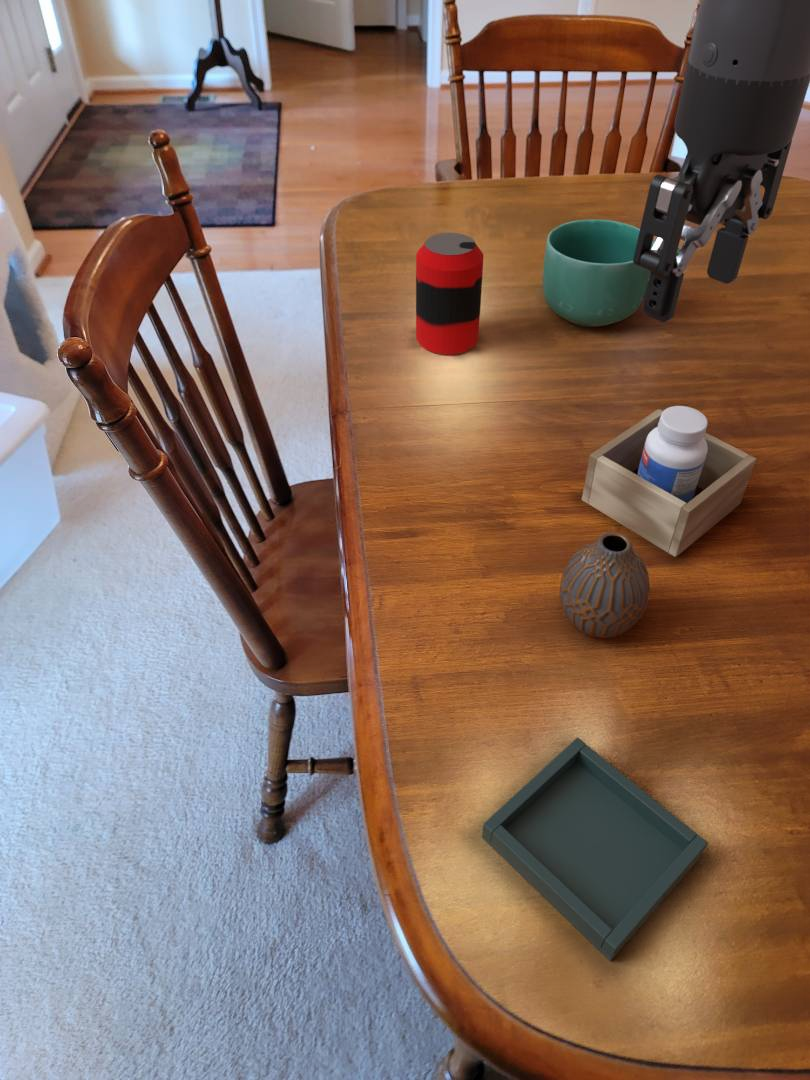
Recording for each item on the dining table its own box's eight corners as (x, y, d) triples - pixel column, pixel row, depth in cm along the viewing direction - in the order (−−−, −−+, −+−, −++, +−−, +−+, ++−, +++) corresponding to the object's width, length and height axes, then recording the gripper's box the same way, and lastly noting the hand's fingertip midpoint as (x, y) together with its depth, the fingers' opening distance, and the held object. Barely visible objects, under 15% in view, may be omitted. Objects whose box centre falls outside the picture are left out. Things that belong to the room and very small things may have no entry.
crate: (740, 503, 79) (757, 458, 75) (675, 557, 74) (689, 511, 70) (647, 453, 85) (658, 408, 81) (581, 500, 80) (589, 454, 76)
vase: (620, 664, 65) (641, 588, 59) (540, 628, 68) (553, 551, 62) (652, 609, 70) (675, 532, 63) (576, 576, 72) (591, 500, 66)
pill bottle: (620, 492, 80) (639, 408, 74) (666, 477, 82) (689, 394, 75) (654, 527, 77) (677, 442, 70) (701, 511, 78) (729, 427, 71)
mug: (544, 338, 101) (553, 264, 94) (533, 289, 110) (541, 218, 103) (681, 339, 101) (700, 264, 94) (660, 289, 110) (675, 218, 103)
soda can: (473, 359, 98) (479, 261, 89) (410, 352, 99) (410, 255, 90) (482, 326, 103) (488, 232, 95) (422, 321, 104) (423, 226, 96)
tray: (701, 856, 54) (708, 842, 53) (610, 962, 50) (615, 949, 48) (574, 751, 60) (577, 736, 59) (481, 837, 55) (483, 823, 54)
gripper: (744, 97, 46) (678, 352, 58) (862, 47, 53) (783, 283, 65) (632, 68, 50) (591, 312, 62) (756, 25, 57) (699, 251, 68)
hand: (689, 297), depth 63 cm, fingers open, 8 cm apart
